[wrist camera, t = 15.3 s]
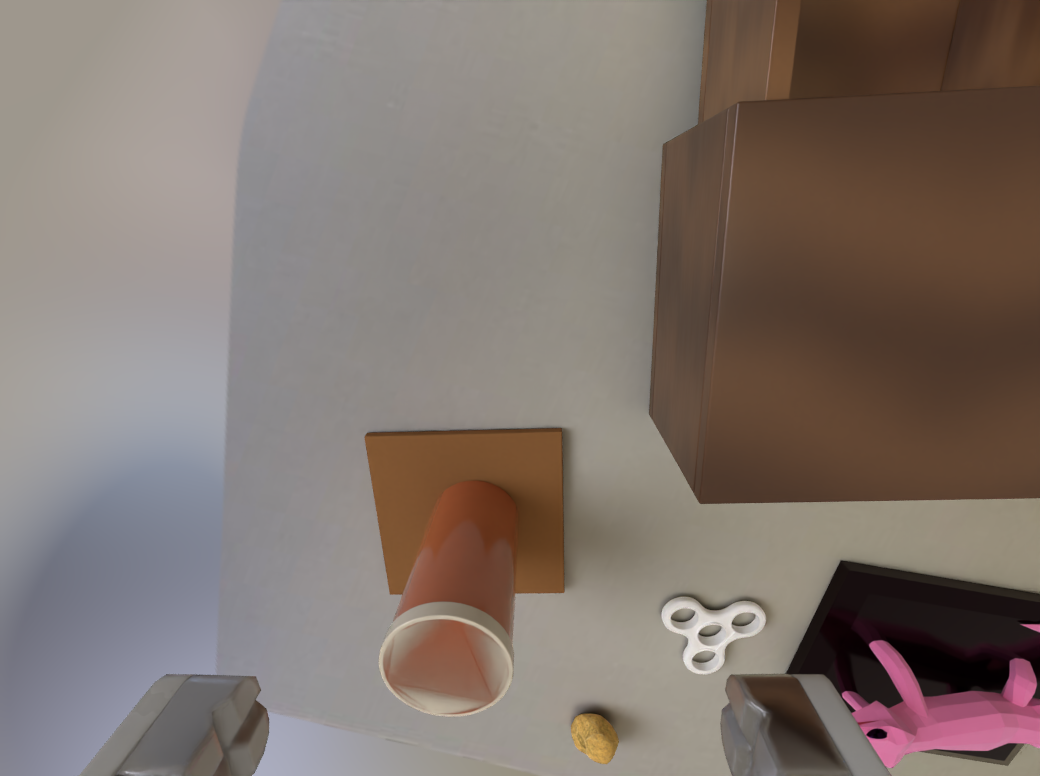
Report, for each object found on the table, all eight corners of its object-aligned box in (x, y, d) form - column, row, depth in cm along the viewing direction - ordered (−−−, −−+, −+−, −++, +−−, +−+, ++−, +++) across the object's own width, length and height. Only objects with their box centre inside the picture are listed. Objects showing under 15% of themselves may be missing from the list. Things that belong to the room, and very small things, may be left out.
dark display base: (819, 556, 32) (897, 650, 25) (1108, 606, 33) (1262, 711, 26) (746, 713, 37) (795, 827, 30) (999, 753, 37) (1104, 875, 30)
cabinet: (662, 143, 24) (737, 101, 15) (946, 129, 24) (1199, 76, 15) (649, 414, 29) (699, 504, 20) (883, 408, 28) (1044, 498, 19)
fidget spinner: (766, 599, 33) (772, 608, 32) (746, 670, 35) (751, 680, 35) (663, 592, 33) (666, 601, 32) (650, 663, 35) (652, 673, 35)
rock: (587, 697, 37) (591, 735, 34) (626, 722, 38) (632, 761, 35) (557, 721, 38) (559, 759, 35) (595, 745, 39) (599, 785, 36)
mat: (392, 588, 34) (389, 594, 34) (367, 432, 30) (364, 436, 30) (563, 587, 34) (564, 593, 33) (561, 427, 30) (562, 431, 29)
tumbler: (435, 556, 32) (387, 717, 22) (426, 479, 30) (369, 615, 20) (522, 555, 32) (516, 717, 22) (519, 477, 30) (510, 615, 20)
